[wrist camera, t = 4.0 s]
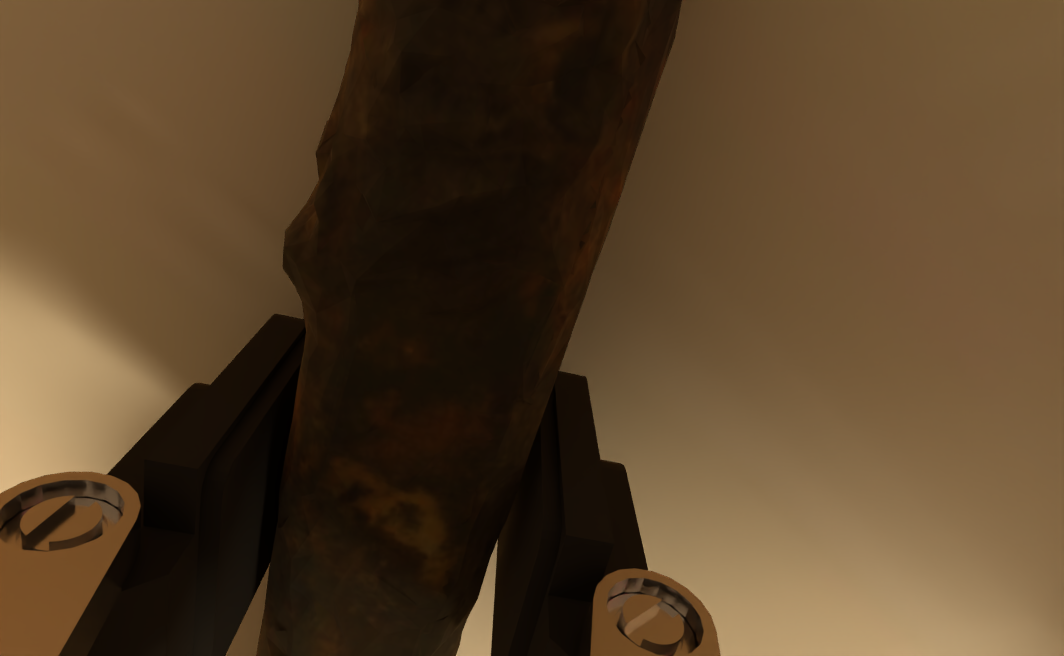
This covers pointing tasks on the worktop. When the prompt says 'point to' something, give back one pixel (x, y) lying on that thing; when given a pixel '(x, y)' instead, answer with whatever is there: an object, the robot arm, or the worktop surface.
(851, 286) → the worktop surface
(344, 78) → the hand tool
